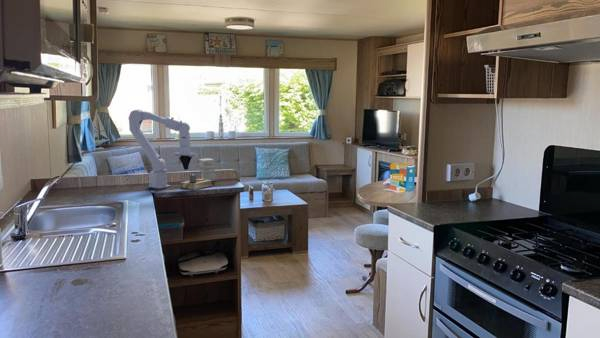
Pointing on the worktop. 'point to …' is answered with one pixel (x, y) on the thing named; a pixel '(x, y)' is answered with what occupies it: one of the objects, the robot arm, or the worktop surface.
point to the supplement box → (207, 169)
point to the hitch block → (196, 184)
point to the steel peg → (192, 178)
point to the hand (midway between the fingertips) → (186, 169)
